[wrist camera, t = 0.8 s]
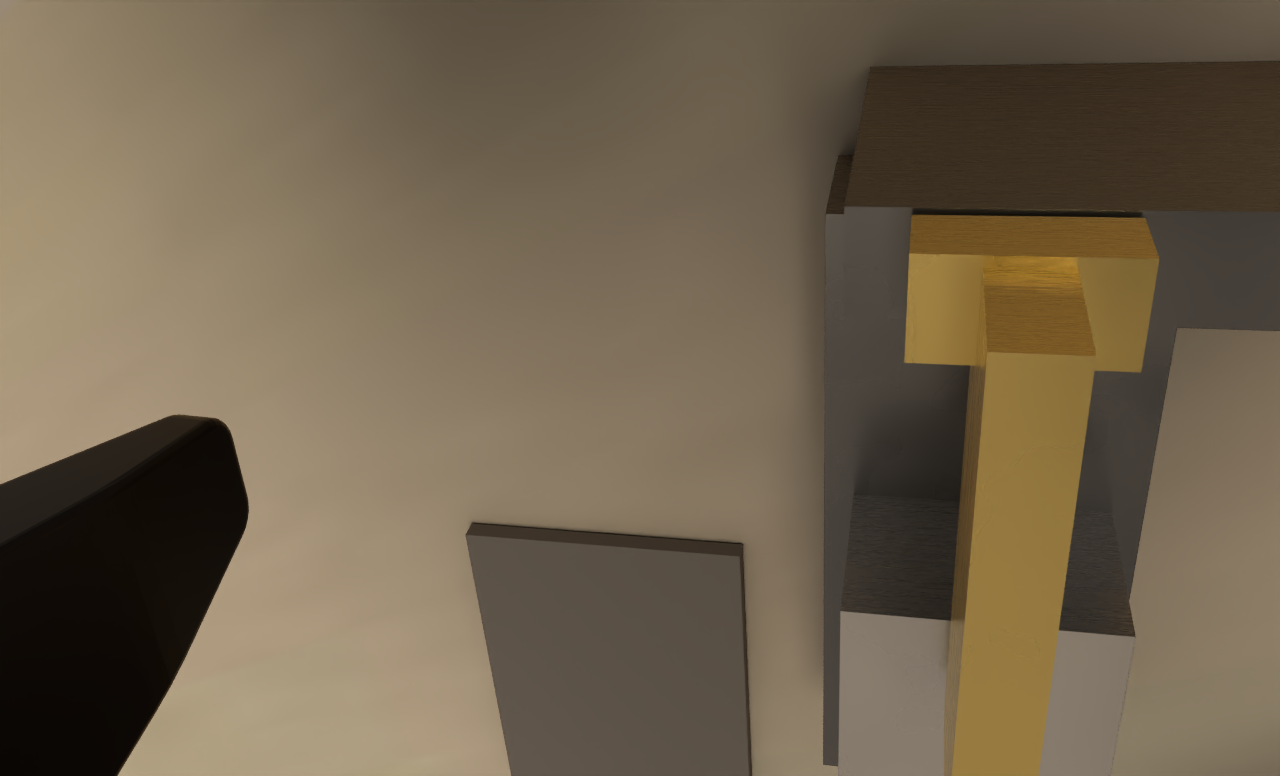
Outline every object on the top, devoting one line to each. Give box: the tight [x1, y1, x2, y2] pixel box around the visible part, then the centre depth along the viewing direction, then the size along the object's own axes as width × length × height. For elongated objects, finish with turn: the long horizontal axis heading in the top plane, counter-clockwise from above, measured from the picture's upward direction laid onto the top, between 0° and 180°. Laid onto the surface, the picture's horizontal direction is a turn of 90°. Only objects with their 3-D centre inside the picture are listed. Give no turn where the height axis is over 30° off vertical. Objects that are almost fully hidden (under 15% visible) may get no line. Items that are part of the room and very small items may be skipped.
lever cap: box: [838, 495, 1136, 776], centre depth 20 cm, size 4×4×3 cm
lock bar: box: [904, 215, 1159, 776], centre depth 15 cm, size 8×3×3 cm, turn 5°
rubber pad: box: [466, 524, 752, 776], centre depth 27 cm, size 8×6×1 cm
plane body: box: [823, 62, 1280, 766], centre depth 19 cm, size 14×14×6 cm
